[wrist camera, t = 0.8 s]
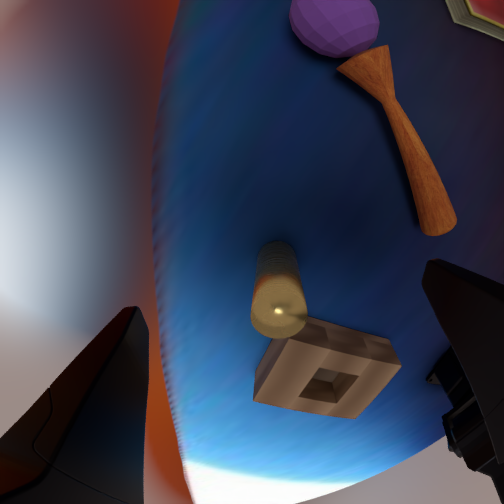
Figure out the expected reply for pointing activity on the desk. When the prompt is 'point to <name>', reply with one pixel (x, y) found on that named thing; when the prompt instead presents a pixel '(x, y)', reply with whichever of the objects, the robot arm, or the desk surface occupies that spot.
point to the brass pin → (278, 292)
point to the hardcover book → (479, 15)
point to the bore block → (325, 370)
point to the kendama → (374, 91)
